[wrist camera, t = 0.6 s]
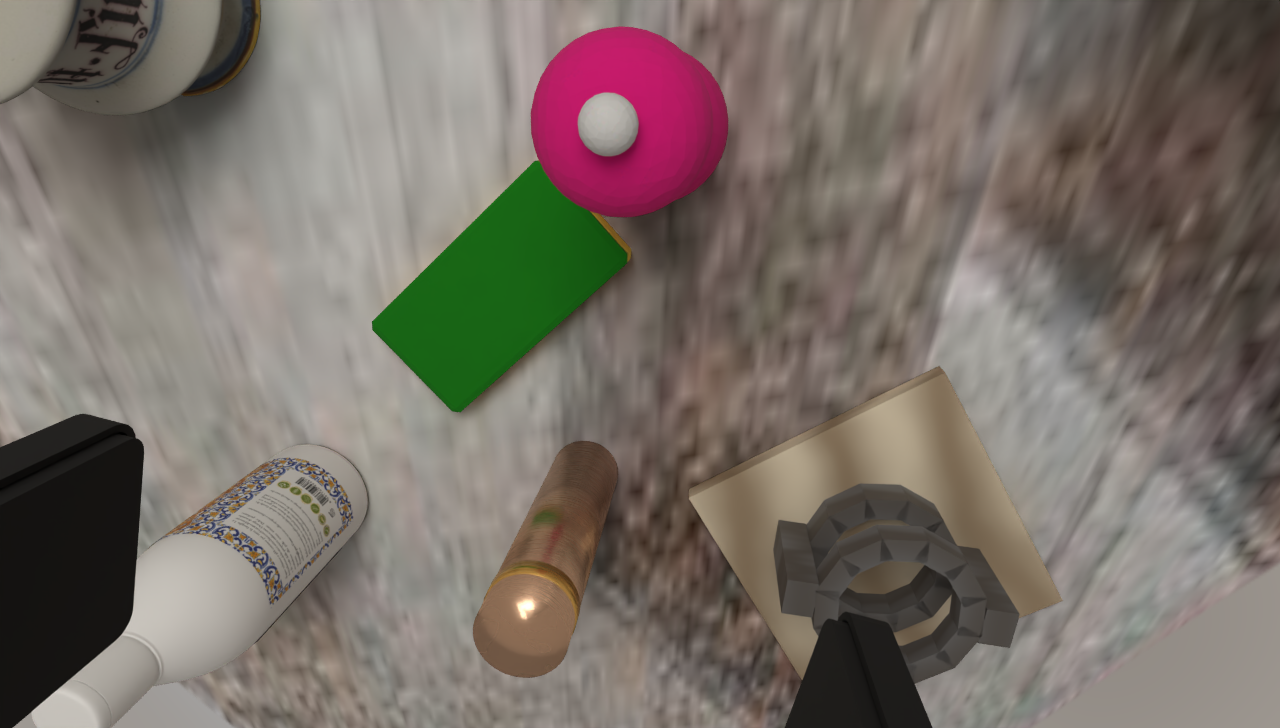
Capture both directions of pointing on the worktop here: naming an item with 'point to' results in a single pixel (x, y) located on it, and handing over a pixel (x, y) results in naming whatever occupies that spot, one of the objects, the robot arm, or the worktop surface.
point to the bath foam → (219, 582)
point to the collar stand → (881, 530)
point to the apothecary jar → (123, 50)
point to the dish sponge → (500, 288)
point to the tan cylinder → (548, 566)
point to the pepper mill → (627, 122)
